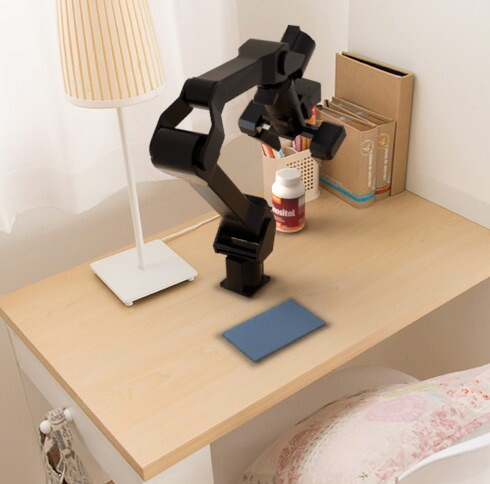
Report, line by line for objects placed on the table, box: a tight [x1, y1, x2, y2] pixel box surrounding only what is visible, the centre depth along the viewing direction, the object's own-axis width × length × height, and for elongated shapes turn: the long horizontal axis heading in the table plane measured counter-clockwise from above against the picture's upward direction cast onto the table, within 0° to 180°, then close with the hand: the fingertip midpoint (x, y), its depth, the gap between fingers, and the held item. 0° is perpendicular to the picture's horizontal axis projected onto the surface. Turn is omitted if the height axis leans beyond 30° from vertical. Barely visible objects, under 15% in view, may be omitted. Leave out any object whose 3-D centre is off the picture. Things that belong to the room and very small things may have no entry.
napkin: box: [221, 298, 327, 364], centre depth 116 cm, size 14×8×1 cm, turn 129°
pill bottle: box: [271, 167, 306, 234], centre depth 138 cm, size 6×6×11 cm
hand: (300, 156), depth 135 cm, fingers open, 9 cm apart
